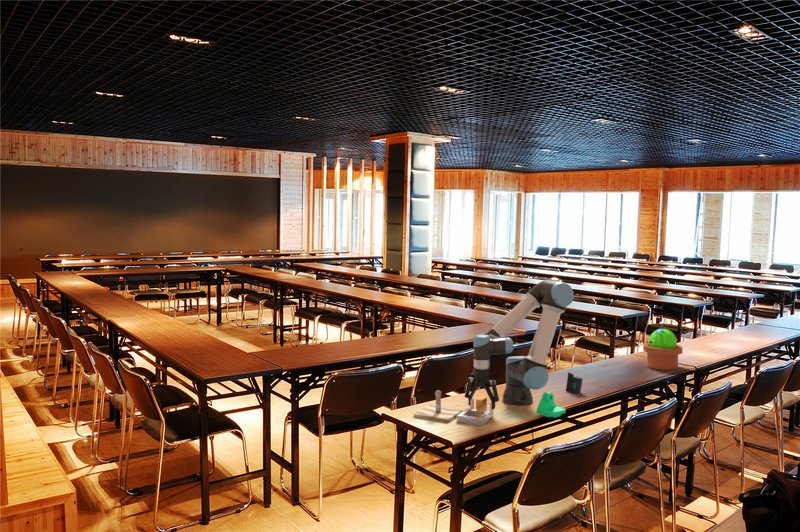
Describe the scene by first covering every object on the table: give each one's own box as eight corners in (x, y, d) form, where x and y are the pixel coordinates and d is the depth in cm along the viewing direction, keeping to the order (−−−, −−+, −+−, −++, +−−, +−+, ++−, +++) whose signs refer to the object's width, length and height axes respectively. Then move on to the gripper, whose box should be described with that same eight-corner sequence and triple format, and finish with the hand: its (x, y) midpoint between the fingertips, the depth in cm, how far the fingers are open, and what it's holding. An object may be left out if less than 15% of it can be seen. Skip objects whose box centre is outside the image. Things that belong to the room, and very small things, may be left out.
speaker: (566, 393, 312) (568, 374, 312) (565, 391, 318) (567, 372, 318) (581, 395, 311) (583, 376, 311) (580, 392, 317) (582, 373, 316)
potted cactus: (669, 362, 380) (670, 324, 378) (688, 370, 358) (689, 330, 357) (637, 363, 378) (637, 325, 377) (654, 371, 357) (654, 331, 355)
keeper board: (429, 407, 291) (429, 384, 290) (462, 413, 282) (462, 388, 281) (413, 416, 277) (413, 392, 277) (448, 422, 268) (448, 397, 268)
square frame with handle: (481, 426, 263) (481, 408, 263) (456, 421, 269) (456, 404, 269) (495, 414, 279) (495, 398, 278) (472, 411, 285) (472, 394, 284)
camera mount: (548, 419, 271) (548, 397, 271) (536, 415, 278) (536, 394, 277) (566, 414, 278) (566, 393, 277) (554, 410, 284) (554, 390, 284)
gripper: (457, 366, 281) (457, 412, 282) (500, 372, 270) (500, 419, 271) (463, 363, 287) (463, 408, 289) (506, 368, 276) (506, 415, 278)
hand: (481, 414), depth 280 cm, fingers open, 9 cm apart
